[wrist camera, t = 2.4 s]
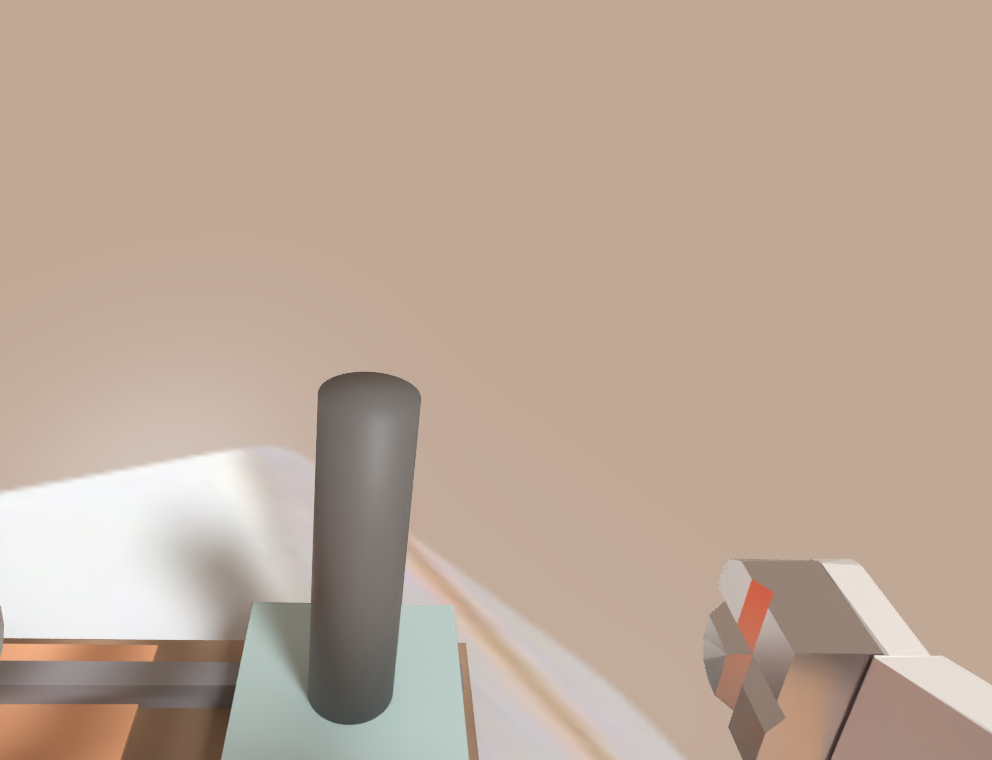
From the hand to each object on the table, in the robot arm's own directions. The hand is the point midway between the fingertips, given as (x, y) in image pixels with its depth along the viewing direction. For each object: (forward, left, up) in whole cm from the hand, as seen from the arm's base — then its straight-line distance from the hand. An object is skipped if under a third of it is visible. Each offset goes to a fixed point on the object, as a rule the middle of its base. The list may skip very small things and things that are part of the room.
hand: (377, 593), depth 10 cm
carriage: (0, +15, -19) cm, 24 cm away
